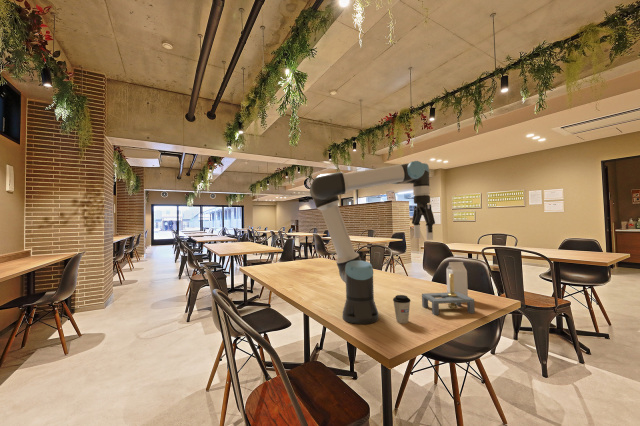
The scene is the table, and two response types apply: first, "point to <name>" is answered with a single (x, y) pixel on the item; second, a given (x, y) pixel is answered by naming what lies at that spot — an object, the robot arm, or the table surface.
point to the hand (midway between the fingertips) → (423, 238)
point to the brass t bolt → (452, 291)
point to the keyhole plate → (446, 301)
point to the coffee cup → (401, 308)
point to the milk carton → (457, 277)
